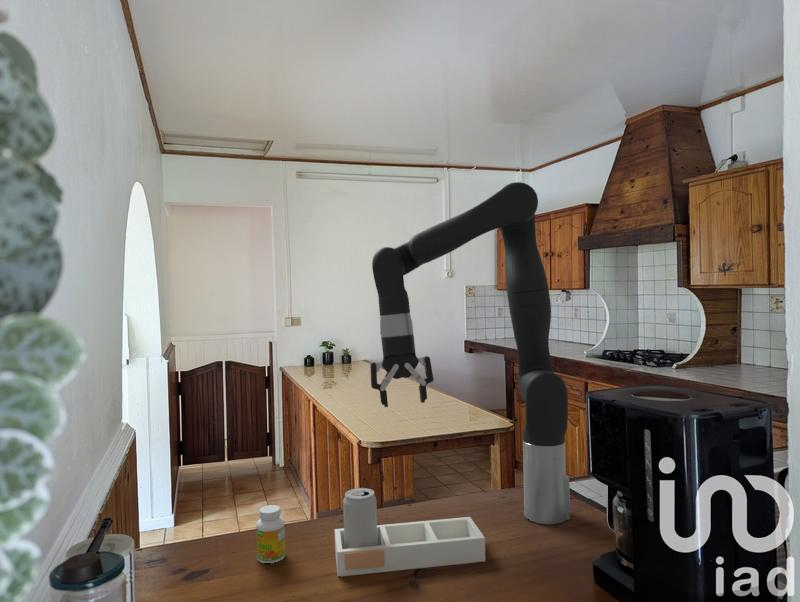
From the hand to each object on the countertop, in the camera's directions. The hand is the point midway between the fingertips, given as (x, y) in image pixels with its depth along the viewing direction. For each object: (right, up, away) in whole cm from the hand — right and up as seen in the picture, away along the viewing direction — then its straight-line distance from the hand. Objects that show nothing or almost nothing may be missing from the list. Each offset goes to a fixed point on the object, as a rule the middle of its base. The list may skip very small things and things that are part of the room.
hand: (404, 404), depth 128 cm
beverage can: (-8, -25, -21) cm, 34 cm away
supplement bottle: (-26, -27, -19) cm, 42 cm away
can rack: (+1, -26, -19) cm, 32 cm away
